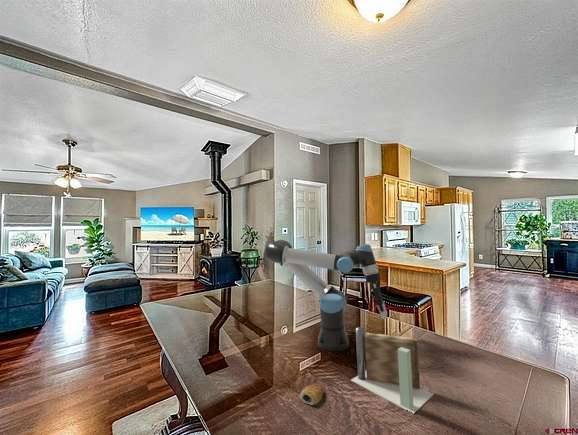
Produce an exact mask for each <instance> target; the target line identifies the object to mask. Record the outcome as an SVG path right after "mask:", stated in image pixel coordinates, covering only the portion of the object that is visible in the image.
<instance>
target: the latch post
mask: <svg viewBox="0 0 578 435" xmlns="http://www.w3.org/2000/svg"><path fill="white" fill-rule="evenodd" d="M398 367H399V385H400V404H401V406H403V407H405V408H407V409H409V410H410V409H411V408H412V407H413V390H412V372H411V354H410V350H408V349H406V348H403V347H401V348H399V349H398Z"/></svg>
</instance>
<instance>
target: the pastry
mask: <svg viewBox="0 0 578 435" xmlns="http://www.w3.org/2000/svg"><path fill="white" fill-rule="evenodd" d="M323 395H324V388H323V386H322V385H321V384H319V383H314V384H311V385H307V386H305V387H304V388H303V389H302V390H301V393H300V395H299V399H300V401H301V402H302V403H303V404H307V405H310V406H316V405H318V404H319V403H320V402H321V400H322V398H323Z"/></svg>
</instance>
